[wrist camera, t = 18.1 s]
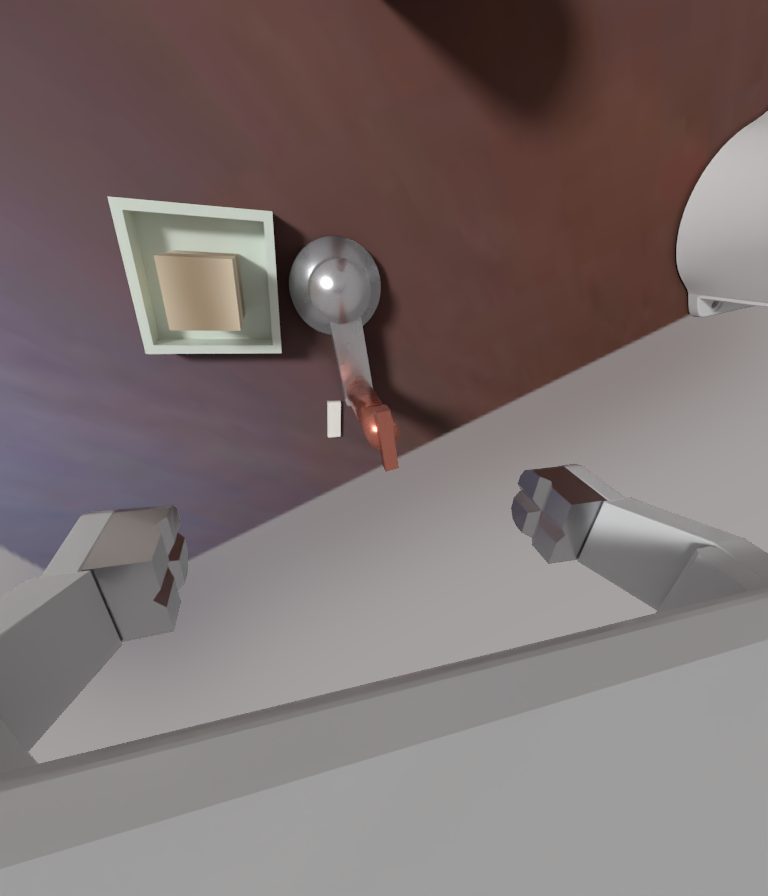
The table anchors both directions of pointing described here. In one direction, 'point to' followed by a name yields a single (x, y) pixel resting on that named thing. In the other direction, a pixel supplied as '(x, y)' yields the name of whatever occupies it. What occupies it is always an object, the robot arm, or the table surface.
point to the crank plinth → (311, 257)
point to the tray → (202, 230)
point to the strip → (334, 418)
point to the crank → (353, 348)
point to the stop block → (201, 290)
